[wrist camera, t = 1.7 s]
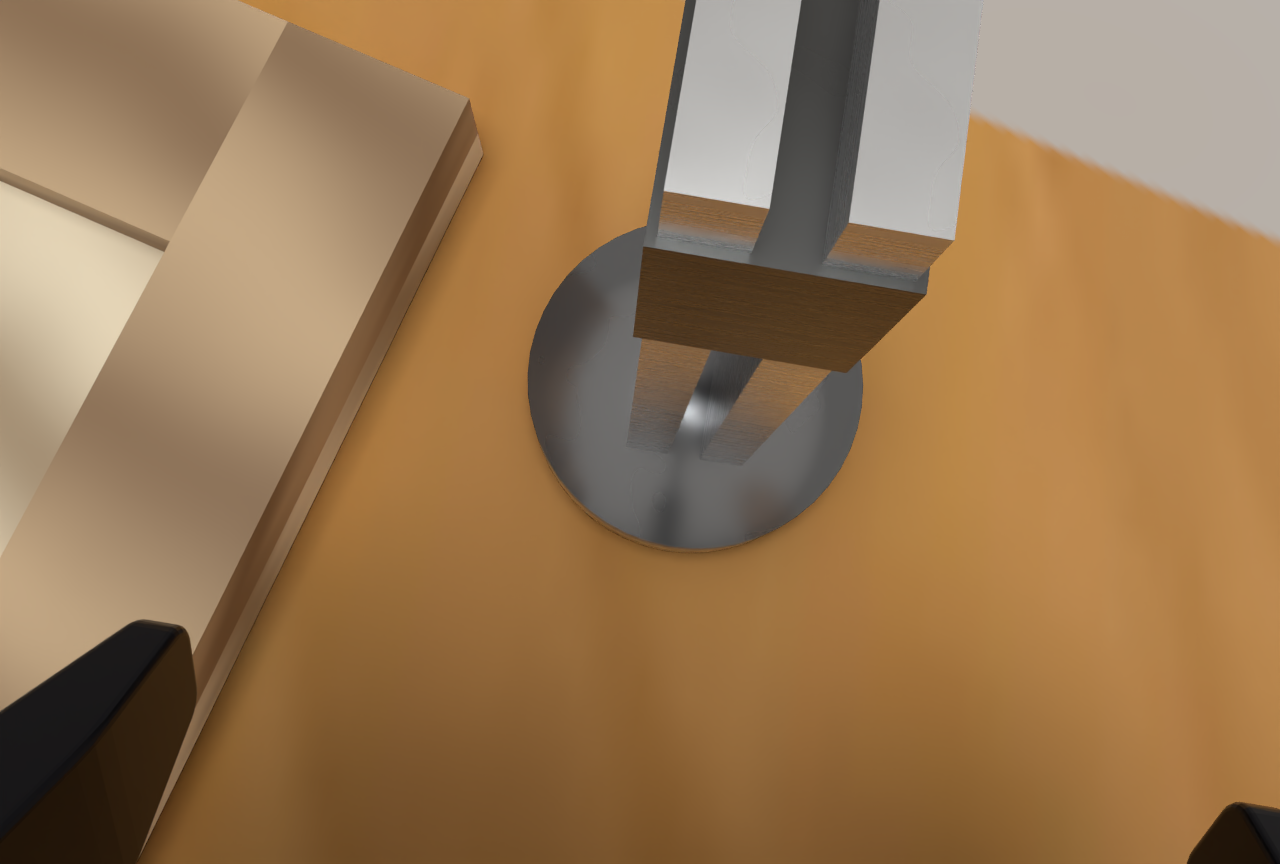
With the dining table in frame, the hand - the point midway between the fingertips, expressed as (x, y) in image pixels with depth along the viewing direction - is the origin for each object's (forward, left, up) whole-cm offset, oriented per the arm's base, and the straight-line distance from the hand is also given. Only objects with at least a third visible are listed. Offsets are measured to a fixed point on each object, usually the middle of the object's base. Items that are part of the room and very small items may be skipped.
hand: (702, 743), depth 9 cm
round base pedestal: (+5, +1, -12) cm, 13 cm away
